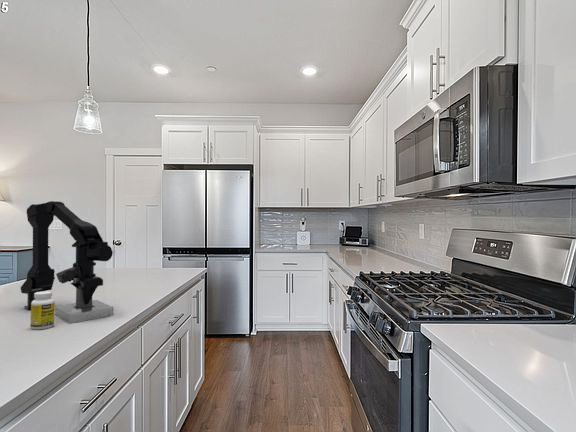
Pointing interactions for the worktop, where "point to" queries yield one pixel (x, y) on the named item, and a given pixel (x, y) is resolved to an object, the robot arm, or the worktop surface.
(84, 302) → the robot arm
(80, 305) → the plug
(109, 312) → the socket plate
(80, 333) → the worktop surface
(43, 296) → the pill bottle
